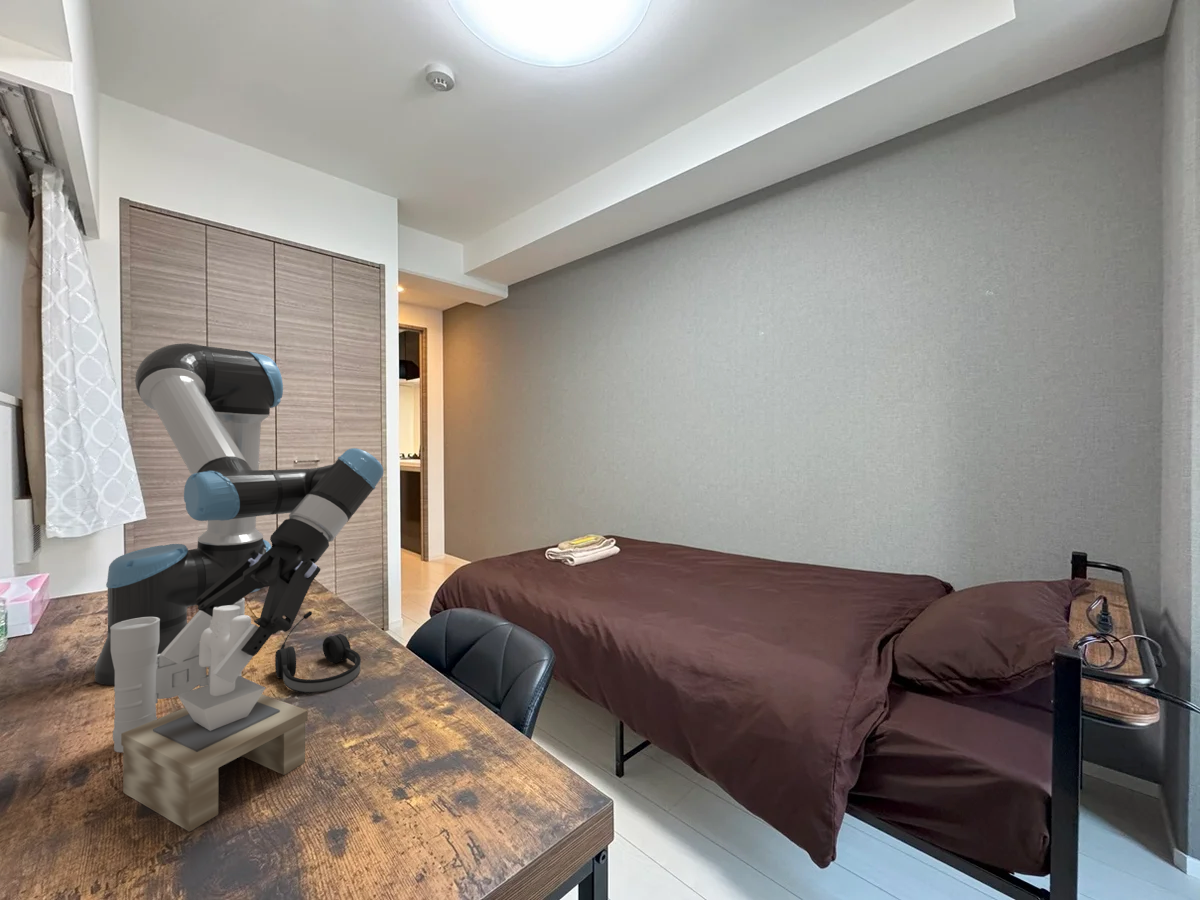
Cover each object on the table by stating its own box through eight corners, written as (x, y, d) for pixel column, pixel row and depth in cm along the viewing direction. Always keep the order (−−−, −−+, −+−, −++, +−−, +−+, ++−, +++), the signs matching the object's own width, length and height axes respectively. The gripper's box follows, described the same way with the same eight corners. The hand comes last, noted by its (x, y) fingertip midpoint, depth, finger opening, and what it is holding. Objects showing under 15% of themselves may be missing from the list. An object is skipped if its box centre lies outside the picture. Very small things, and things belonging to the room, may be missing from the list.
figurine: (233, 698, 72) (238, 595, 73) (269, 716, 68) (273, 605, 68) (171, 720, 66) (177, 607, 67) (206, 742, 62) (212, 619, 62)
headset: (335, 604, 109) (373, 639, 96) (333, 645, 109) (371, 684, 97) (266, 620, 99) (298, 660, 86) (264, 664, 100) (295, 710, 87)
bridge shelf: (121, 791, 64) (121, 731, 64) (238, 734, 77) (238, 684, 77) (191, 833, 57) (192, 766, 57) (307, 763, 70) (307, 708, 70)
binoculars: (234, 695, 89) (234, 594, 88) (251, 703, 86) (251, 599, 86) (103, 747, 73) (103, 625, 73) (119, 758, 71) (119, 632, 71)
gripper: (377, 552, 76) (274, 700, 62) (277, 538, 86) (169, 663, 72) (346, 522, 71) (227, 675, 57) (245, 511, 81) (122, 639, 67)
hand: (195, 668), depth 64 cm, fingers open, 11 cm apart
